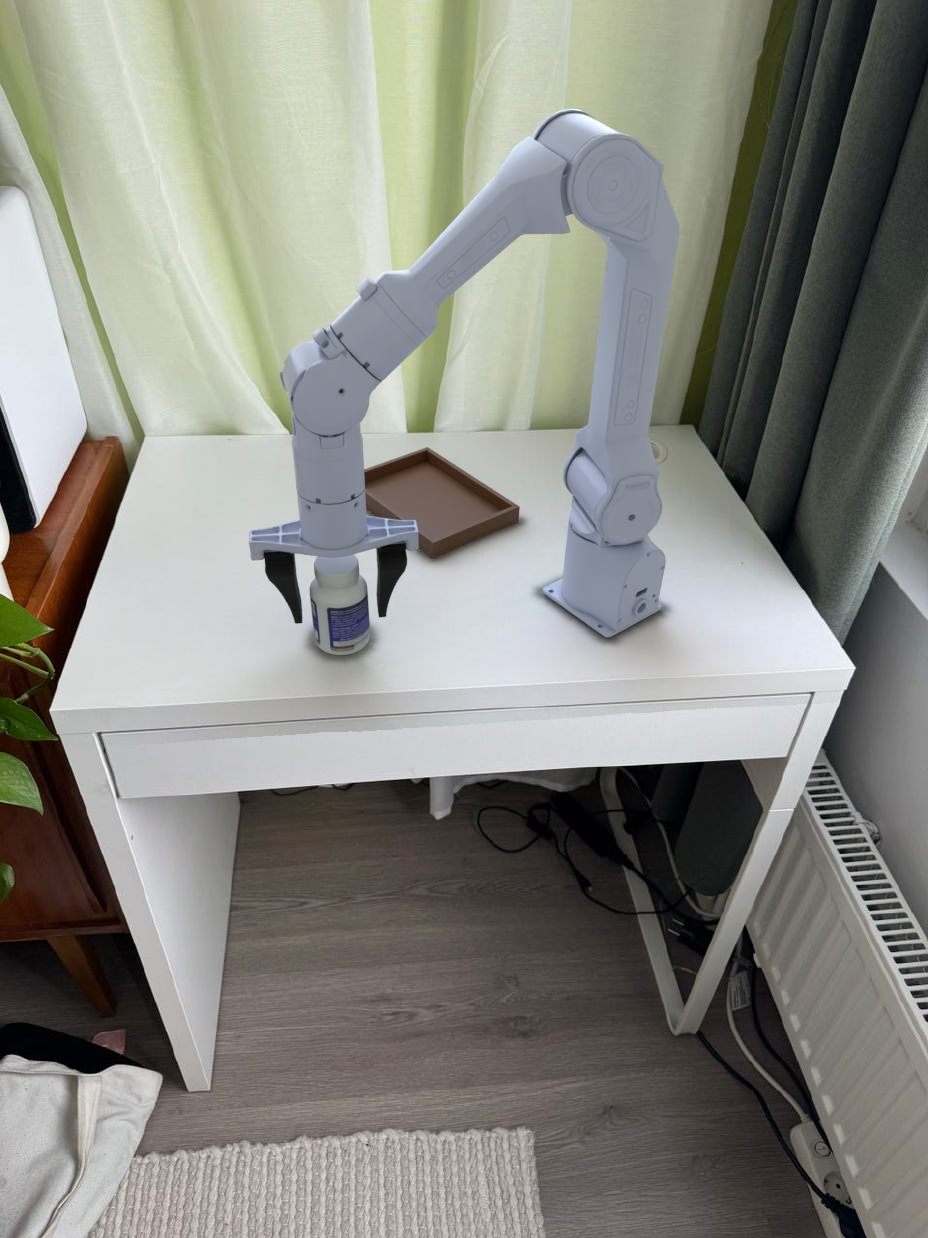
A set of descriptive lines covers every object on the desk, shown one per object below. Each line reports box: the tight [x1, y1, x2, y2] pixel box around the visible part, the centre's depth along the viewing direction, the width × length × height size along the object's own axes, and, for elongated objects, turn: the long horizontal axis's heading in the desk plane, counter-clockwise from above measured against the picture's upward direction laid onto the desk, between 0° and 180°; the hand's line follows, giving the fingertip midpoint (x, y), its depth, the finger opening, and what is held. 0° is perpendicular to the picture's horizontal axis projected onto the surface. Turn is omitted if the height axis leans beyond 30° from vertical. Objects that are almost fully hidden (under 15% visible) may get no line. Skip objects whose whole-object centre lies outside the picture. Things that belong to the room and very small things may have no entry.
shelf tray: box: [364, 446, 521, 559], centre depth 106 cm, size 17×12×2 cm
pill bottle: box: [309, 554, 371, 656], centre depth 85 cm, size 5×5×9 cm
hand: (340, 613), depth 86 cm, fingers open, 7 cm apart
